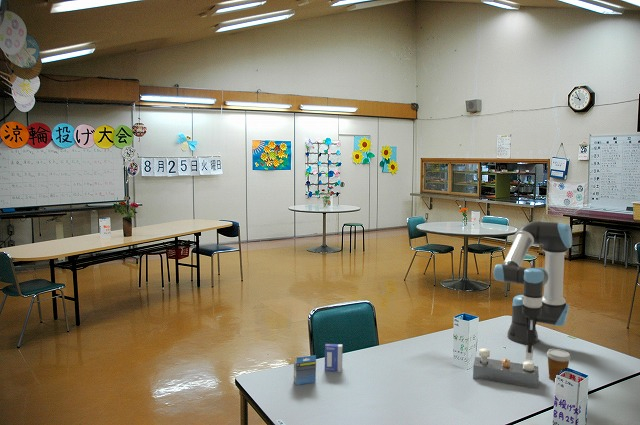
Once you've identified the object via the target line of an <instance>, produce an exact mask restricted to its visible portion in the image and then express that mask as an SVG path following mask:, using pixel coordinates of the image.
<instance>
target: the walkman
mask: <svg viewBox="0 0 640 425" xmlns="http://www.w3.org/2000/svg"><path fill="white" fill-rule="evenodd" d="M343 349H344V347H343V344H341V343H340V344H338V343H337V344H336V343H325V344H324V371H325V372H340V373H341V372H342V371H343V355H344V354H343V352H344V351H343Z"/></svg>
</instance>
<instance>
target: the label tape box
mask: <svg viewBox="0 0 640 425" xmlns="http://www.w3.org/2000/svg"><path fill="white" fill-rule="evenodd" d="M295 361H296V362H294V363H293V383H294V384H295V385H296V386H301V385H306V384H312V383H316V382H317V380H316V377H317V355H316V354H314V355H306V356H296V360H295Z"/></svg>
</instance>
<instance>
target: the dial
mask: <svg viewBox="0 0 640 425" xmlns="http://www.w3.org/2000/svg"><path fill="white" fill-rule="evenodd" d="M501 361H502V366H503V367H510V362H511V360H509V359H508V358H503V359H501Z"/></svg>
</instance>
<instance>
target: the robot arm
mask: <svg viewBox="0 0 640 425" xmlns="http://www.w3.org/2000/svg"><path fill="white" fill-rule="evenodd" d="M572 234H573V232H572V228H571V226H570V224H568V223H562V222H553V221H552V222H551V221H538V220H536V221H531V222H528V223H526V224H523V225H522V226H521V227H520V228H518V229H517V230H516V231H515V233H514V235H513V242H512V244H511V246H510V248H509V251H508V252H507V255H506V256H505V259H504V261H503V263H498V264H495V266H494V268H493V278H494V280H495V281H499V282H503V283H511V284H519V285H523V291H522V292H523V293H522V294H518V295H515V296H514V297H513V300H512V305H511V306H512V308H511V309H512V310H511V324H510V326H509V328H508V331H507V338H508V339H509V340H511V341H513V342H516V343H520V344H524V345H525V360H527V361H528V360H529V361H533V356H534V345H536V344H537V342H539V341H538V340H539V335H538V331H537V327H536V325H537V323H540V324H545V325H550V326H556V327H564V325H565V324H566V322H567V319H568V318H567V317H568V314H569V310H570V304H568V303H567V302H566V299H565V298H564V297H563V294H564V272H565V253H568V251H569V248H570V249H571V248H572V246H573V235H572ZM533 245H537V246H541V247H542V248H541V250H543V251H544V254H545V256H544V258H545V259H544V268H543V267H523V266H522V265H523V263H524V260H525V258H526V256H527V253H528V252H529V249H530V248H531V247H532V246H533Z"/></svg>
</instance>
